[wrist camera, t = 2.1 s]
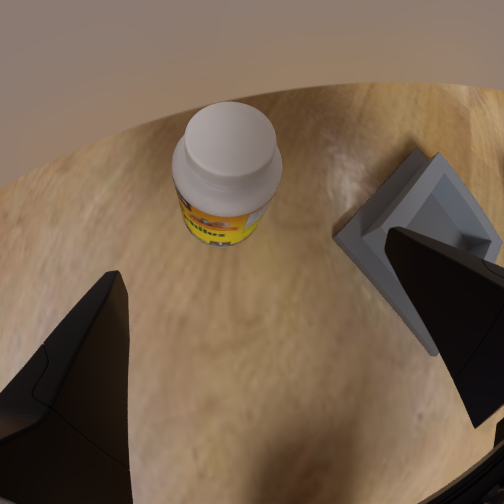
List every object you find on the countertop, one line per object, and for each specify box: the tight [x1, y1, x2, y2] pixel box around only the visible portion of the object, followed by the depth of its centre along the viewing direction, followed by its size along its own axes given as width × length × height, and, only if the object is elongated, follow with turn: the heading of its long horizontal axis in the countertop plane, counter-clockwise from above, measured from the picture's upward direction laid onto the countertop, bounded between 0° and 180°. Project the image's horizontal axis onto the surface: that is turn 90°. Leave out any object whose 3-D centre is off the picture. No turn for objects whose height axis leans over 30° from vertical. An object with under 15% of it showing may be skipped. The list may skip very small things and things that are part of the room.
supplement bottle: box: [172, 102, 283, 247], centre depth 17 cm, size 6×6×10 cm
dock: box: [333, 147, 503, 356], centre depth 22 cm, size 14×14×4 cm
